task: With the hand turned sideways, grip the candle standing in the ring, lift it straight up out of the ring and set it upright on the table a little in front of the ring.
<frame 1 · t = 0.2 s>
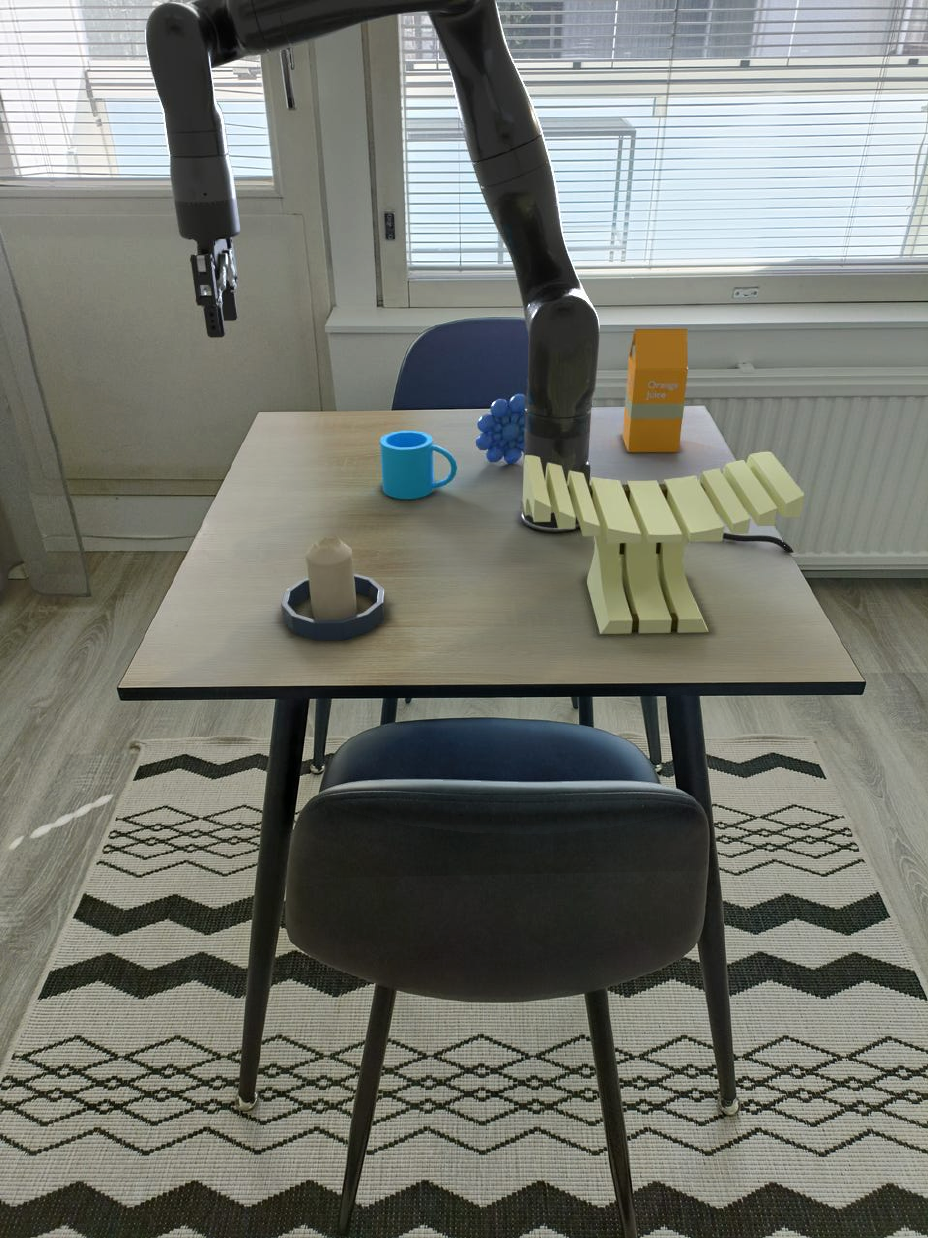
hand: (223, 328, 127), 29 cm above the table, tool pointing down, fingers open, 8 cm apart
blue ball flower: (510, 462, 162), on the table
orange juice: (649, 444, 169), on the table
ring: (334, 613, 120), on the table
mug: (420, 490, 153), on the table
slatted curved stool: (642, 601, 122), on the table
candle: (335, 615, 120), resting in ring
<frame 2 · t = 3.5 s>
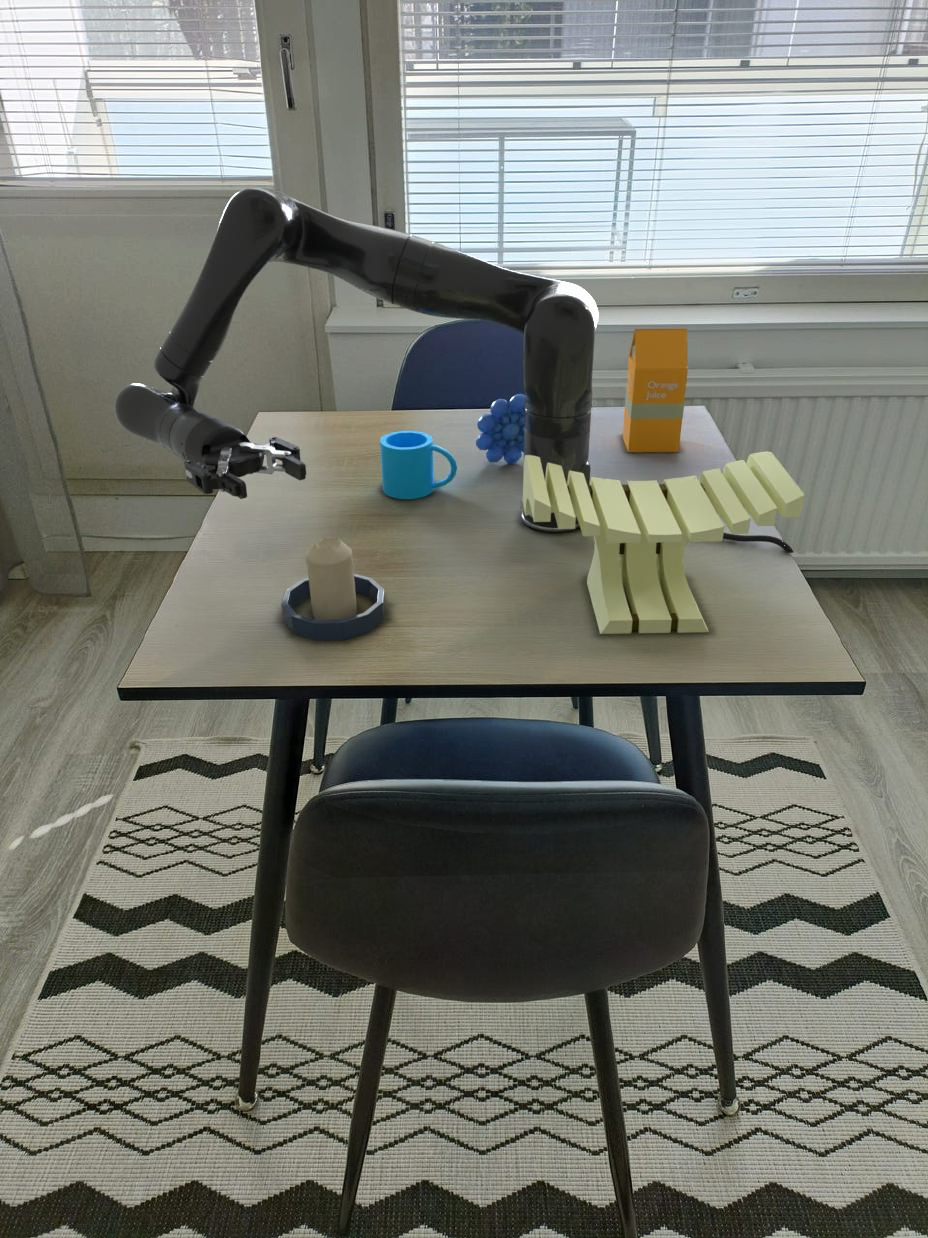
hand: (274, 481, 119), 14 cm above the table, tool horizontal, fingers open, 8 cm apart
nothing on the table moved.
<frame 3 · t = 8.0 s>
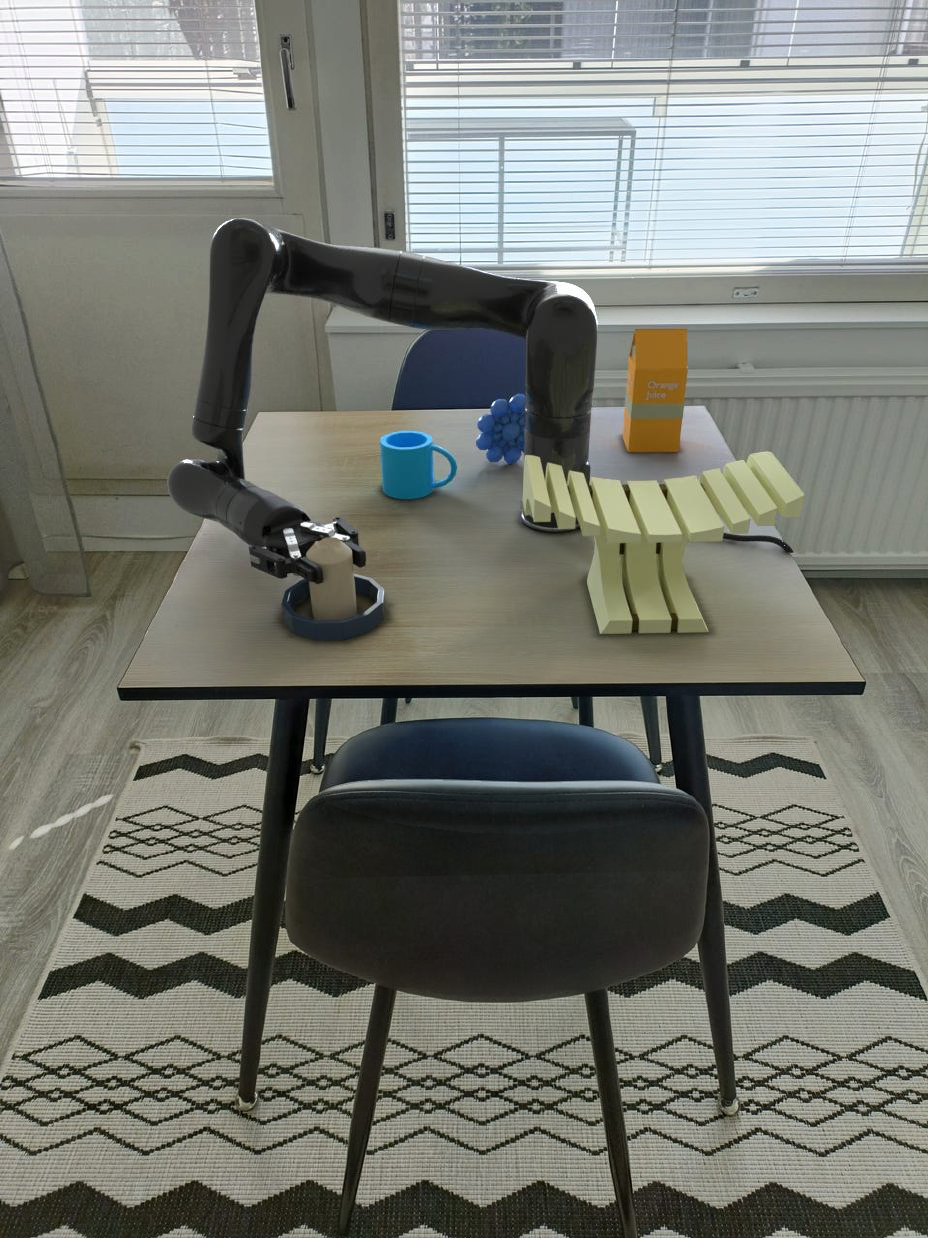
hand: (342, 567, 115), 8 cm above the table, tool horizontal, fingers closed on candle, 5 cm apart
candle: (335, 615, 120), resting in ring, touching gripper
everything else where it was.
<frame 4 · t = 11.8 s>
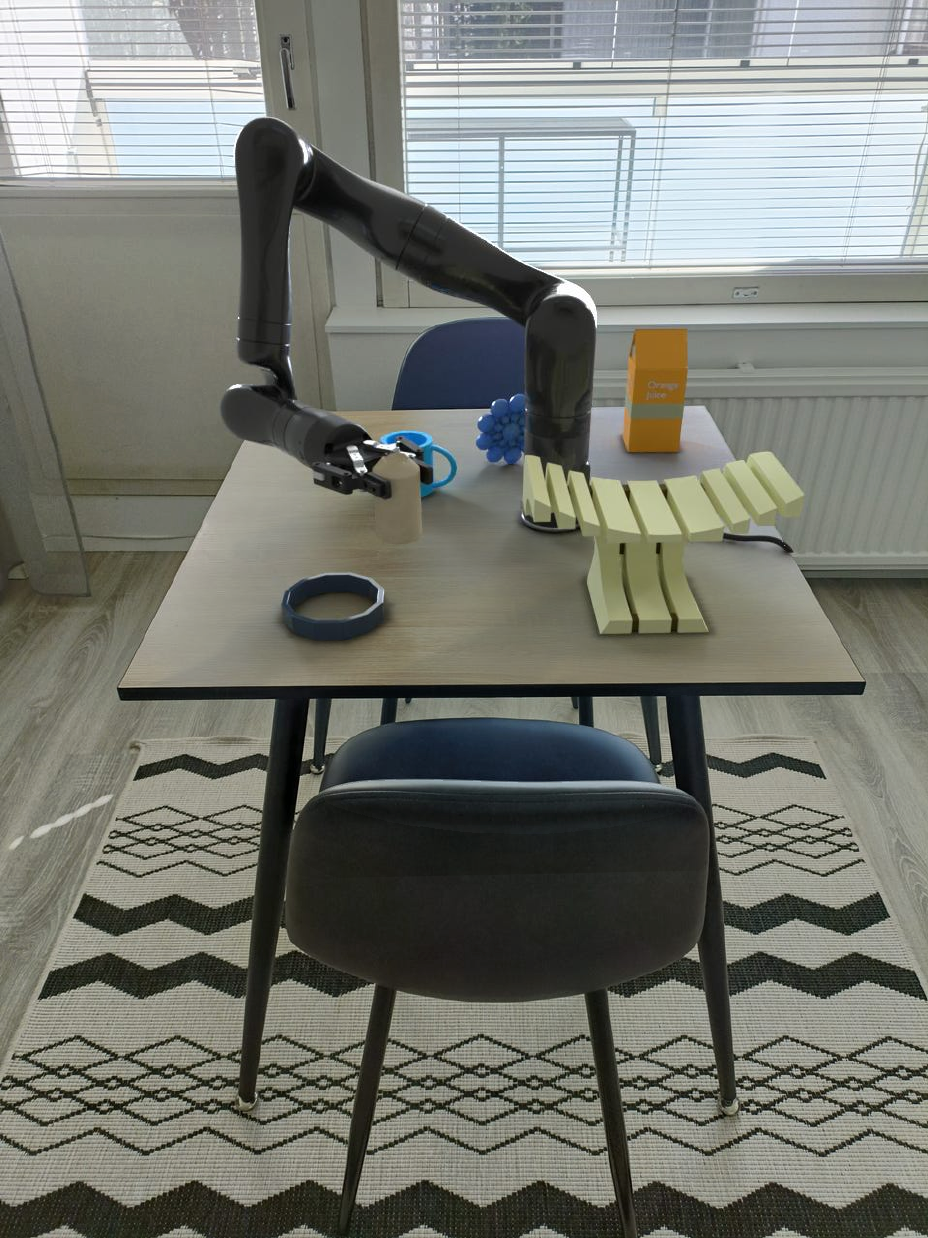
hand: (410, 483, 110), 18 cm above the table, tool horizontal, fingers closed on candle, 5 cm apart
candle: (399, 536, 116), point 10 cm above the table, touching gripper
everything else where it was.
when the fingers open (8 cm above the table, at t = 15.7 s): candle stays where it is, on the table.
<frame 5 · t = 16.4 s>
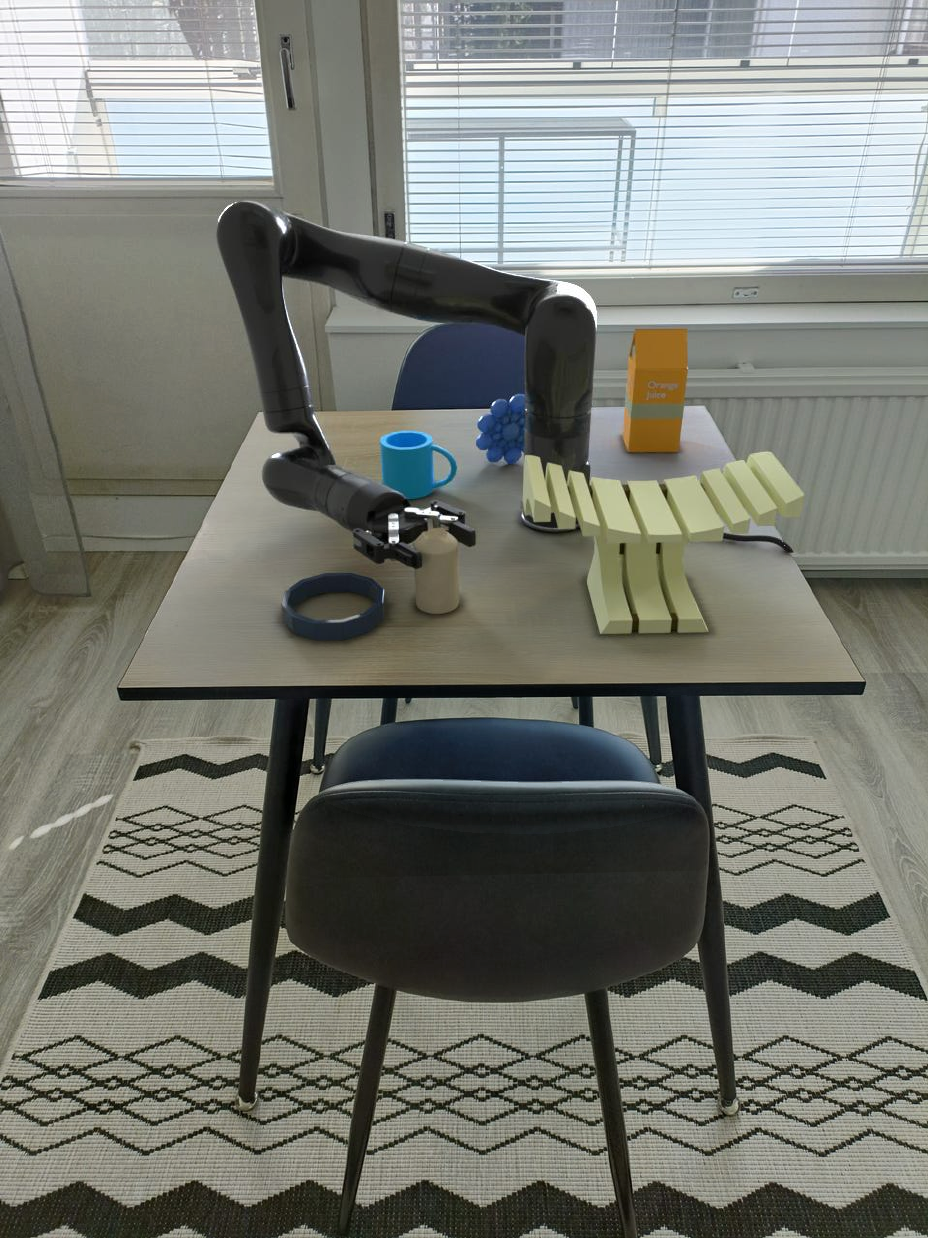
hand: (447, 550, 116), 8 cm above the table, tool horizontal, fingers open, 8 cm apart
candle: (437, 604, 122), on the table
everything else where it was.
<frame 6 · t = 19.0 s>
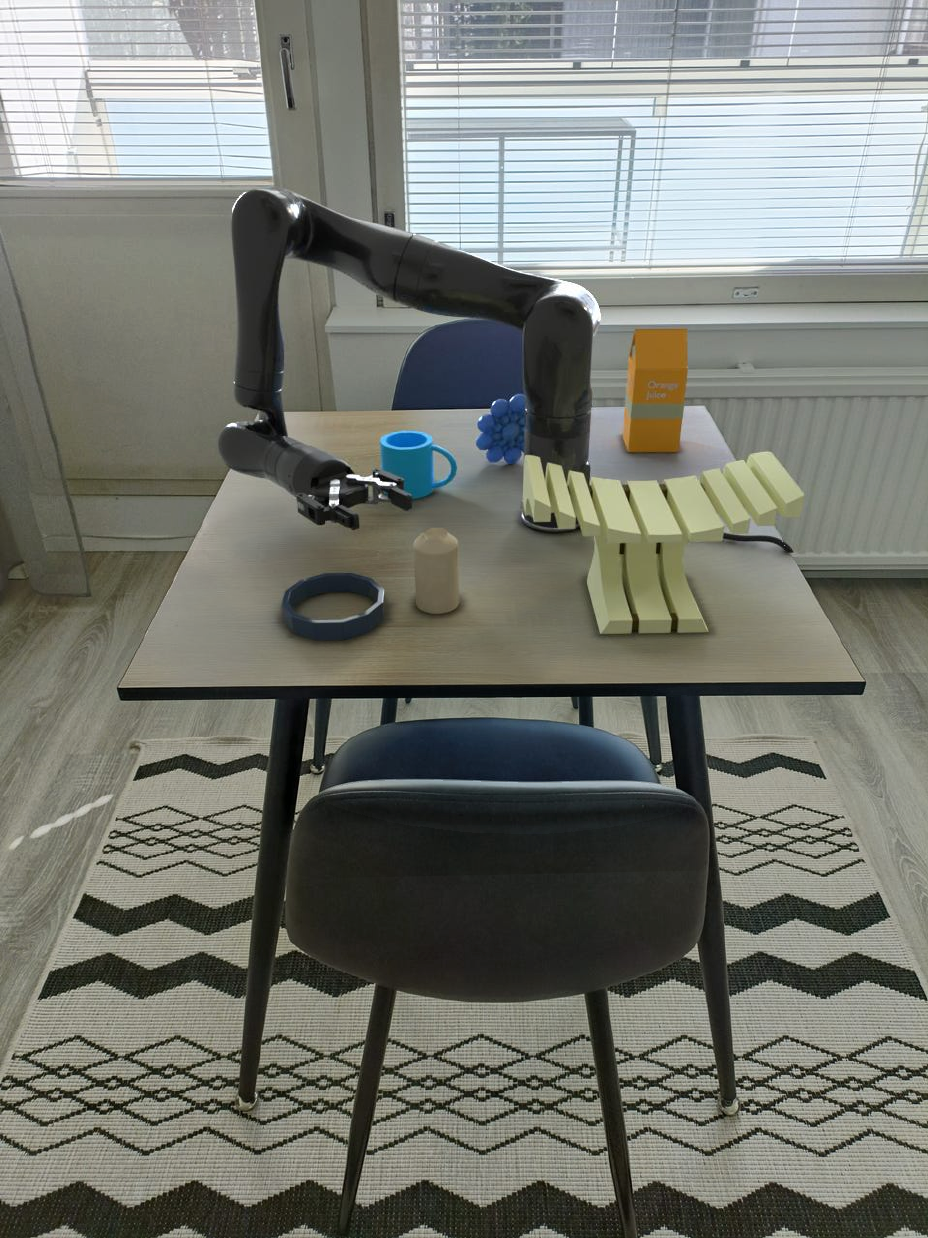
hand: (384, 512, 124), 9 cm above the table, tool horizontal, fingers open, 8 cm apart
nothing on the table moved.
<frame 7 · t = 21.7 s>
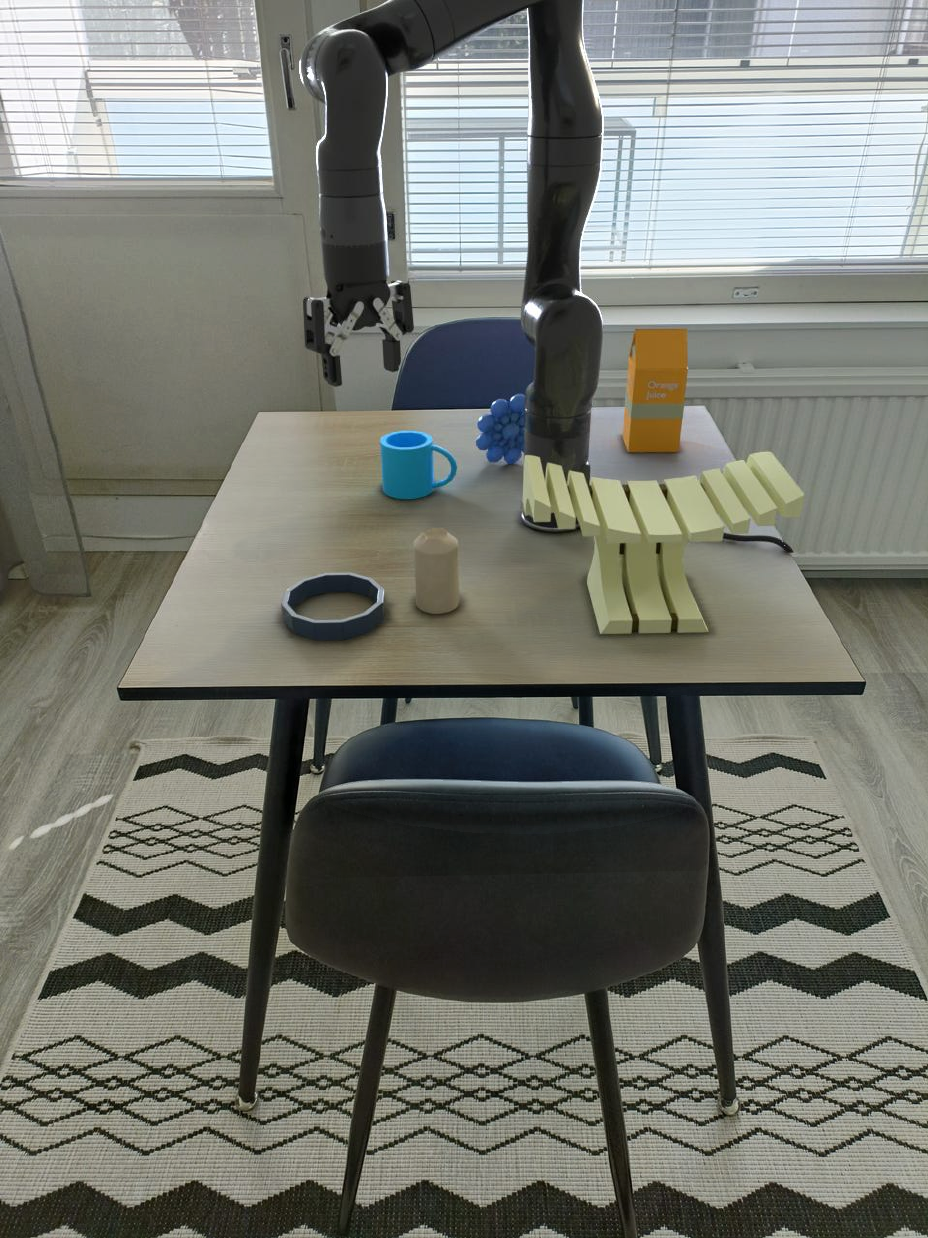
hand: (363, 377, 117), 26 cm above the table, tool pointing down, fingers open, 8 cm apart
nothing on the table moved.
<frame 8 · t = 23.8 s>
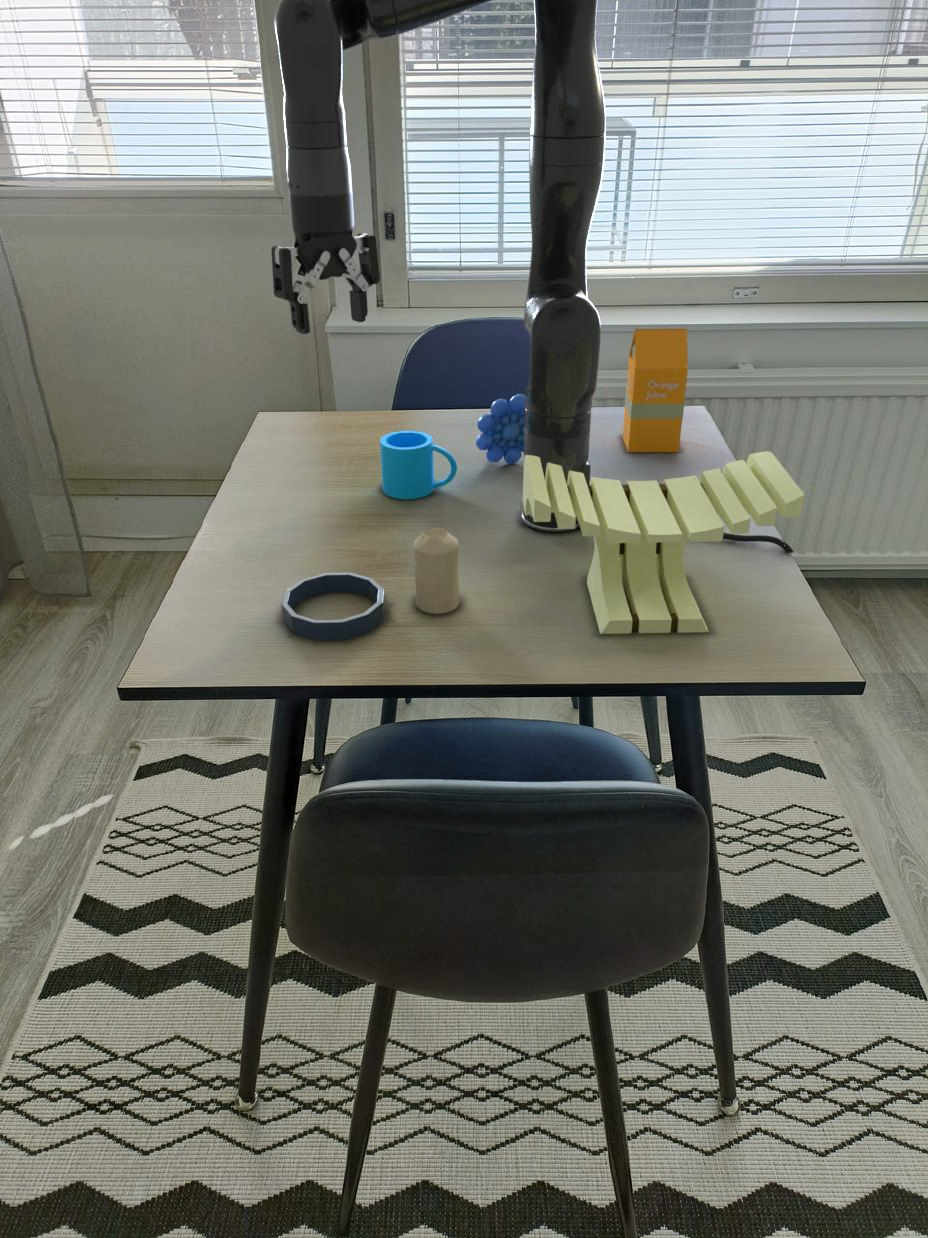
hand: (331, 326, 122), 30 cm above the table, tool pointing down, fingers open, 8 cm apart
nothing on the table moved.
at the end: candle inside the target area (0.2 cm from its centre), on the table; candle tilted 0°; the gripper is holding nothing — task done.
